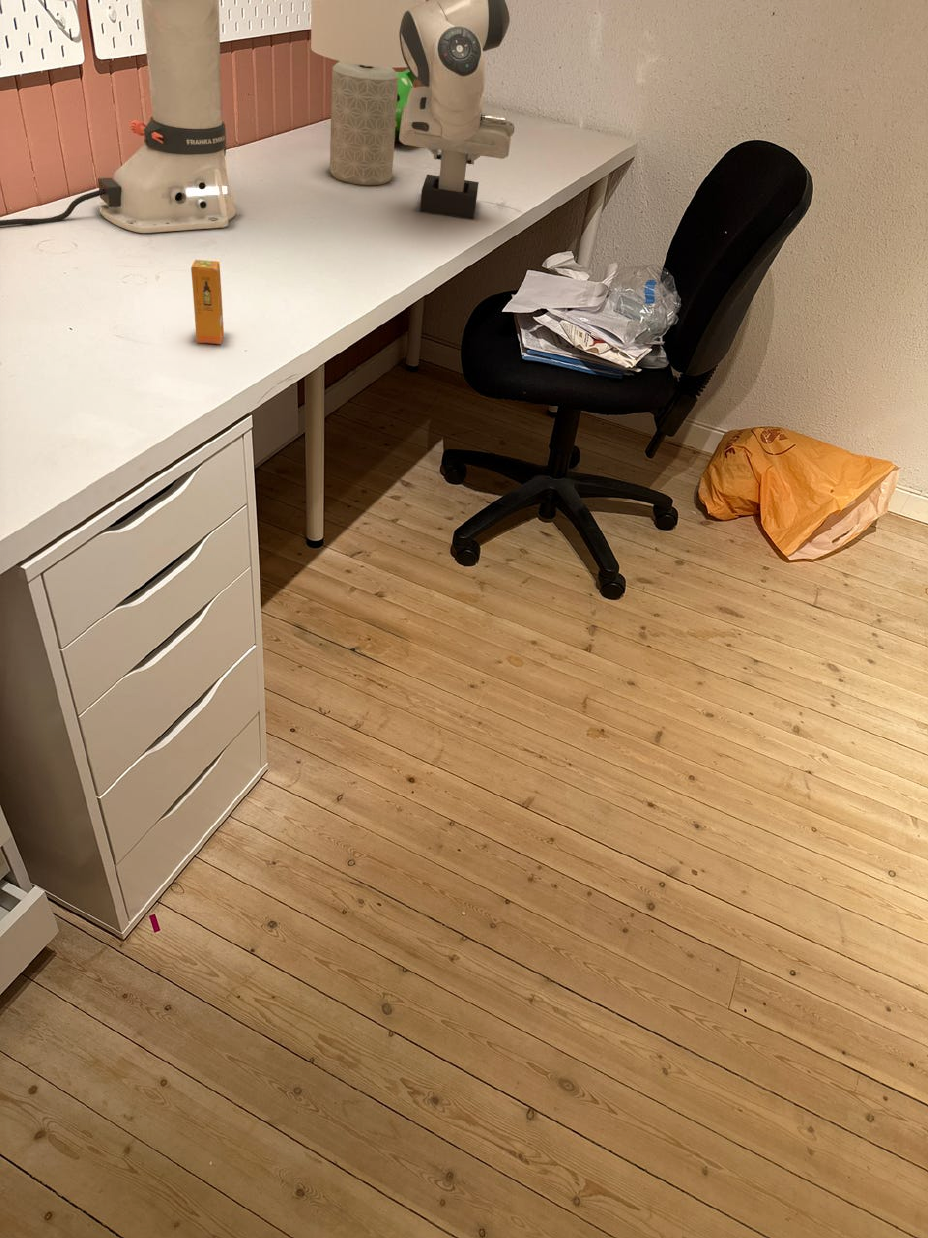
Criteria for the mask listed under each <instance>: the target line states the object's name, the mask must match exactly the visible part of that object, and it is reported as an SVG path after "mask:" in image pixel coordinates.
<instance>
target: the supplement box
mask: <svg viewBox="0 0 928 1238" xmlns="http://www.w3.org/2000/svg"><path fill="white" fill-rule="evenodd" d="M190 272H191V282H192V295H193V309H194V324H195V340H196V343H198V344H199V343H201V344H213V345H214V344H215V345H222V342H223V339H224V336H225V330H224V329H225V328H224V313H223V311H224V309H223V295H222V279H221V277H222V276H221V266H220V261H217V260H202V259H194V261H193V263H192V265H191V267H190Z"/></svg>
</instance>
